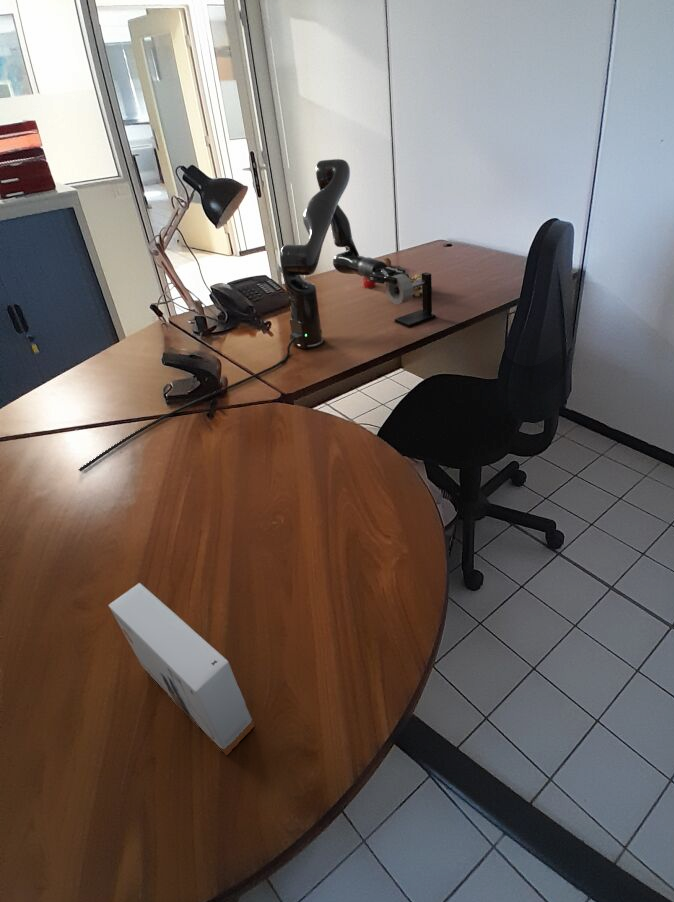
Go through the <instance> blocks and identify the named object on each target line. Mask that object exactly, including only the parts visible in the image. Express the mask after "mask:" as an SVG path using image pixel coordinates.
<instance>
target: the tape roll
mask: <svg viewBox="0 0 674 902" xmlns="http://www.w3.org/2000/svg"><path fill="white" fill-rule="evenodd" d="M392 277H395V278H397V284H396V285H395V284H392V283H386V282H385V292H386V296H387V298H388V300H390V302H391V303H392V304H394V305H397V306H399V305H402V304H404V303H407V302H410V301H411V300H412V299H413V296H414V295H413V286H412V283H411V280H410V279H409V278H408V277H407V276H406V275H404V274H398V275H395V276H392ZM396 287H398V288H399V290H400V294H395V293H394V289H395V288H396Z"/></svg>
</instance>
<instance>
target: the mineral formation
mask: <svg viewBox="0 0 674 902" xmlns="http://www.w3.org/2000/svg"><path fill="white" fill-rule="evenodd" d="M408 275H409V279H410V280H411V283H412V284H413V283H416V282H419V281H422V273H416V274H415V275H414V276H413V275H412V276H411V275H410V274H408ZM421 295H422V286H418V287H415V288H413V296H414V297H416V298H418V297H420V296H421Z"/></svg>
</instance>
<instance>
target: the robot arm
mask: <svg viewBox="0 0 674 902" xmlns="http://www.w3.org/2000/svg"><path fill="white" fill-rule="evenodd" d="M315 176H316V181H317V185H318V188H319V191H318V192H317V193H315V194H314V195H313V196H312V197H311V198H310V199H309V201H308V202H307V204H306V207H305V210H304V211H303V216H302V221H303V226H304V228H305V230H306V232H307V234H308V241H307V243H306V244H285V245H283V246H282V247H281V249H280V253H279V263H280V268H281V272H282V277H283V281H284V282H283V283H284V287H285V290H286V292H287V297H288V302H289V310H290V316H291V318H289V325H290V326H289V327H290V332H291V333H289V339H290V342H289V343H288V344H287V347H286V355H285V357H284V358H283V359H281V360H280V361H278V362H277V363H275V364H273V365H272V366H270V367H267V368H264V369H263V370H261V371H259V372H256V373H255V374H252V375H250V376H248V377H245V378H243V379H241V380H239V381H237V382H234V383H232V384H230V385H227V386H225V387H226V388H225V387H223V388H221V390H220V389H218V390H219V391H218V390H216V391H217V392H216V391H214V392H212V394H211V393H209V394H210V395H209V394H206V395H204V396H202V397H199V398H198V399H196V400H193V401H191V402H189V403H186V404H184V405H182V406H181V407H179V408H176V409H174V410H173V411H171V413H170V412H168V413H166V414H167V415H166V414H164V415H165V416H164V415H162V416H160V417H159V418H157V419H155V420H156V421H155V420H153V421H154V422H153V421H151V422H152V423H151V422H149V423H147V424H146V425H147V426H146V425H144V426H145V427H144V426H143V428H142V427H141V428H139V429H140V430H139V429H137V430H138V431H137V430H135V431H134V432H135V433H134V432H132V433H133V434H132V433H131V434H129V435H130V436H129V435H127V436H128V437H127V436H126V437H124V438H125V439H124V438H122V439H121V440H122V441H121V440H119V441H120V442H119V441H118V442H119V443H118V442H116V443H117V444H116V443H115V444H113V445H114V446H113V445H112V446H110V447H111V448H110V447H109V448H107V449H108V450H107V449H106V450H104V451H105V452H104V451H102V452H101V453H102V454H101V453H100V454H98V455H99V456H98V455H96V456H95V457H96V458H95V457H94V458H95V459H94V458H92V459H93V460H92V459H91V460H92V461H91V460H89V461H88V462H89V463H88V462H86V463H85V464H86V465H85V464H83V465H82V466H83V467H82V466H81V467H79V468H80V469H79V468H78V471H79V472H83V471H84V470H85V469H87V468H88V467H90V466H91V465H93V464H94V463H96V462H97V461H98V460H100V459H101V458H103V457H104V456H106V455H107V454H109V453H110V452H112V451H113V450H115V449H116V448H118V447H120V446H121V445H122V444H124V443H125V442H127V441H128V440H130V439H132V438H133V437H135V436H136V435H139V434H140V433H142V432H144V431H145V430H147V429H148V428H150V427H152V426H154V425H156V424H157V423H159V422H161V421H163V420H165V419H168V418H169V417H171V416H173V415H175V414H177V413H179V412H181V411H183V410H185V409H187V408H190V407H192V406H194V405H195V404H198V403H201V402H202V401H206V400H207V399H209V398H211V397H213V396H216V395H218V394H220V393H223V392H225V391H228V390H230V389H232V388H234V387H237V386H239V385H242V384H243V383H245V382H247V381H250V380H253V379H254V378H256V377H258V376H260V375H263V374H265V373H268V372H270V371H272V370H274V369H276V368H277V367H279V366H280V365H282V364H283V363H285V362H286V361H287V360H288V358H289V356H290V352H291V350H290V349H291V346H292V345H293V346H294V347H297V348H300V349H303V350H307V349H312V348H317V347H319V346H321V345H322V344H324V339H323V332H322V324H321V318H320V310H319V309H320V308H319V302H318V301H319V300H318V294H317V287H316V285H315V283H313V282H311V281H308V280H306V279H305V278H303V277H302V276H311V275H313V274H314V273H315V271H316V270H317V267H318V264H319V261H320V257H321V253H322V249H323V245H324V241H325V239H326V236H327V233H328V231H329V228H330V227H331V233H332V238H333V244H334V245H335V247H337V248H345V251H342V252H340V253H337V254H335V256H334V257H333V258H332V265H333V268H334V269H335V271H337V272H338V273H341V274H345V275H346V274H347V275H358V276H360V277H362V278H363V277H364V278H366V279H369V280H370V282H375V284H380V285H383V284H386V283H392V284H395V285H396V284H397V278H395V277H392V276H395V275H398V274H404V275H406V276H407V277H408V278H409V275H410V274H408V273H406V269H405V268H403V267H401V266H400V265H397V266H396V268H393V267H391V266H390V267H387V265H386V264H385V263H384V262H382V260H378V259H375V258H373V257H370V258H367V257H368V256H367V257H366V256H364V255H360V253H359V251H358V250H357V246H356V244H355V242H354V240H353V234H352V229H351V223H350V221H349V218H348V216H347V215H346V213H345V212H344V210H343V209H342V208H341V206H340V205H339V202H340V201H341V198H342V196H343V194H344V192H345V191H346V189H347V187H348V184H349V181H350V178H351V168H350V165H349V163H348V162H347V161H346V160H345V159H341V158H334V159H332V158H331V159H321V160H319V161H317V163H316V167H315ZM372 258H373V259H372Z"/></svg>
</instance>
